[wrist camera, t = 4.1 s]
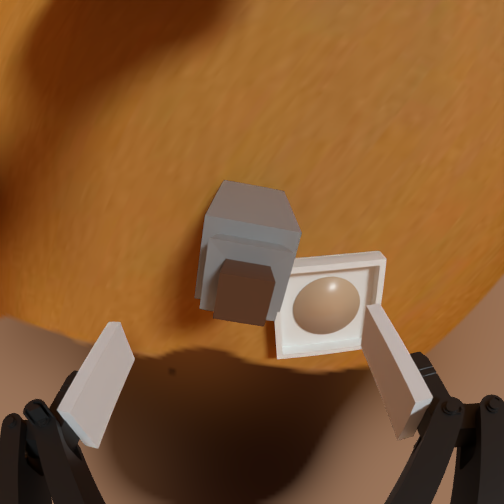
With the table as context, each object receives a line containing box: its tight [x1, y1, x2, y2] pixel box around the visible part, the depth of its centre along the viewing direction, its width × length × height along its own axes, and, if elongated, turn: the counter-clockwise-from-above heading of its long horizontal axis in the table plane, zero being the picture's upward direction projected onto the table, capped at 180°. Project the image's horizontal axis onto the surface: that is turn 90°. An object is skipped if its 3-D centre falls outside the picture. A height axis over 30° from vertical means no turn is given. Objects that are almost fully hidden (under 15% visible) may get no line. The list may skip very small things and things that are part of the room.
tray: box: [274, 251, 386, 359], centre depth 38 cm, size 14×14×2 cm
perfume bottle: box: [195, 180, 301, 326], centre depth 26 cm, size 7×7×18 cm
